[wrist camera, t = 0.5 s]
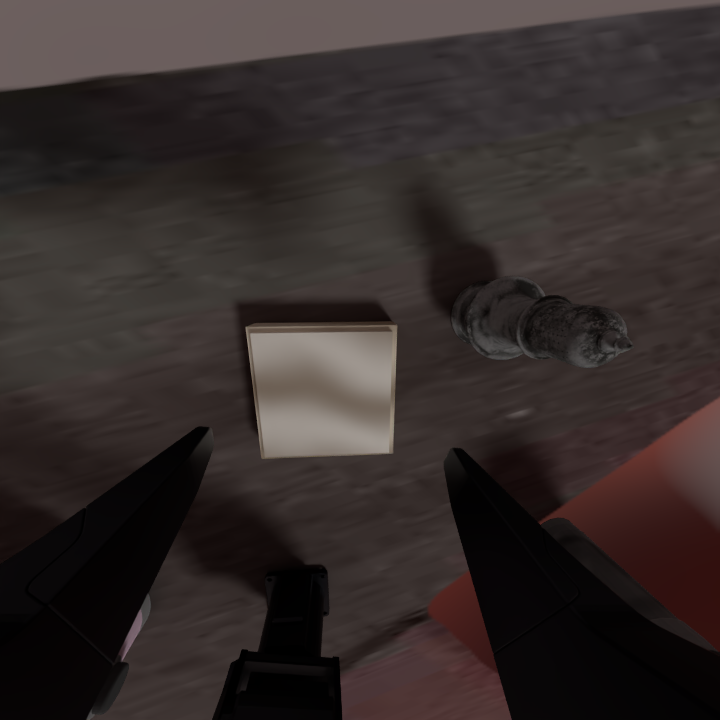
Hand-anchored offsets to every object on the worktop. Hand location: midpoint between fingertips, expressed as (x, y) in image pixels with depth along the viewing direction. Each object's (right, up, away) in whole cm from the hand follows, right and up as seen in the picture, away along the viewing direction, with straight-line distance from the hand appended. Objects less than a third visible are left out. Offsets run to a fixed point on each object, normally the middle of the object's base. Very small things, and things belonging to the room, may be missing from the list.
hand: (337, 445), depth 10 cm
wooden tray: (-2, +1, +13) cm, 13 cm away
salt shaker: (+11, +7, +12) cm, 18 cm away
